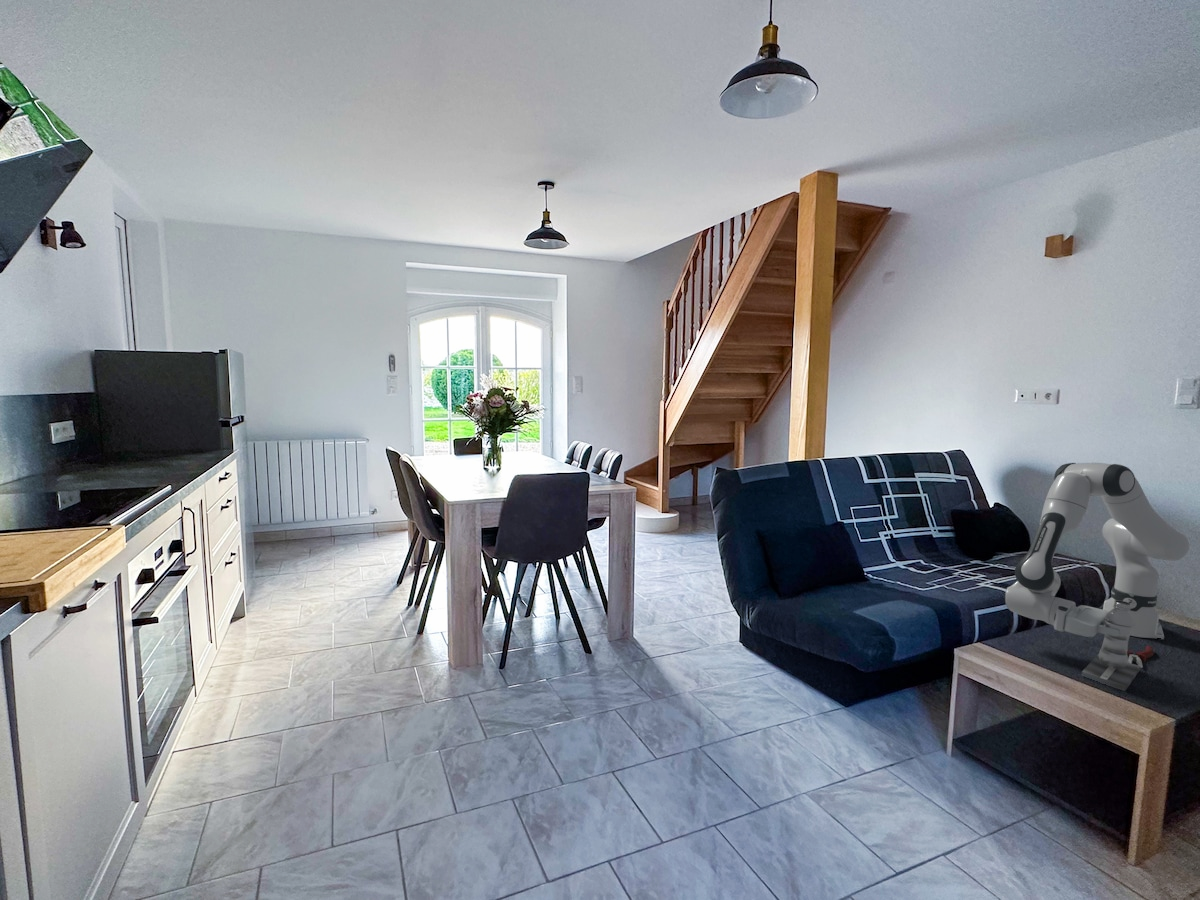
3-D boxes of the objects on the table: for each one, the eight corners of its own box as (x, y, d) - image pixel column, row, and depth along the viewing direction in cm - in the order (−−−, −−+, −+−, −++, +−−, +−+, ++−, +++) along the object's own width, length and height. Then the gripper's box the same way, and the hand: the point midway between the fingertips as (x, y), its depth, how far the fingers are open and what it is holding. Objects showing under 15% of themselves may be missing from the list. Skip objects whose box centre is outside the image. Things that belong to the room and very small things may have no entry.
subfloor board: (1097, 657, 190) (1098, 652, 190) (1139, 670, 183) (1140, 665, 182) (1081, 676, 178) (1081, 671, 177) (1125, 691, 170) (1126, 685, 170)
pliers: (1111, 664, 187) (1112, 656, 187) (1105, 642, 203) (1107, 634, 203) (1160, 676, 181) (1162, 668, 180) (1151, 652, 197) (1152, 645, 196)
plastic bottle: (1119, 673, 175) (1131, 608, 172) (1092, 662, 181) (1103, 599, 178) (1130, 669, 178) (1142, 605, 175) (1103, 658, 184) (1114, 596, 181)
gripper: (1072, 615, 195) (1127, 631, 184) (1053, 631, 182) (1112, 649, 171) (1075, 597, 194) (1131, 611, 184) (1057, 611, 181) (1116, 628, 171)
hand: (1122, 630), depth 177 cm, fingers closed on plastic bottle, 6 cm apart
